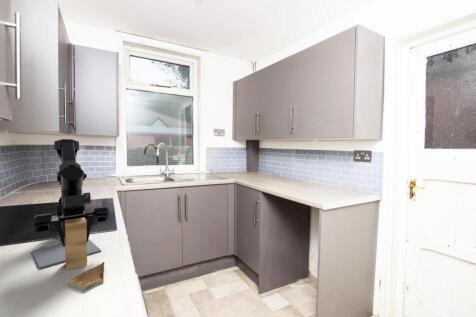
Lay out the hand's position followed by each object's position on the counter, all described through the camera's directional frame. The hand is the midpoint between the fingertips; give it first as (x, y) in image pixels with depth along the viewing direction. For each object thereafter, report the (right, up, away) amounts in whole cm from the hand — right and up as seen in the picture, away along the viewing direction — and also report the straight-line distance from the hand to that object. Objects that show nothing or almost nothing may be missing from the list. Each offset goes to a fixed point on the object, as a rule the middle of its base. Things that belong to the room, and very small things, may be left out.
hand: (75, 243), depth 70 cm
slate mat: (-10, -6, +10) cm, 15 cm away
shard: (+7, -8, -6) cm, 12 cm away
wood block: (-1, -7, +2) cm, 7 cm away
